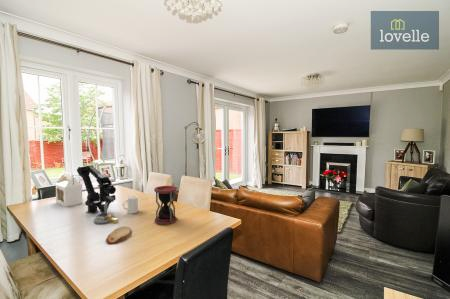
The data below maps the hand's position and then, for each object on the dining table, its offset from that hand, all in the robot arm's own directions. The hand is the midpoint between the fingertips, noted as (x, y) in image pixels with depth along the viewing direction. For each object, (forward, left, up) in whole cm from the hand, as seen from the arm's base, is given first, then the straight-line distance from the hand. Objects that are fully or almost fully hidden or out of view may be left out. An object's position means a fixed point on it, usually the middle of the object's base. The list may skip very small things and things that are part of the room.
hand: (104, 211), depth 173 cm
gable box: (-53, +13, -2) cm, 55 cm away
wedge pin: (0, 0, -2) cm, 2 cm away
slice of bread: (+38, -26, -3) cm, 46 cm away
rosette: (+12, -10, -2) cm, 16 cm away
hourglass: (+53, +4, -2) cm, 53 cm away
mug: (+16, +11, -2) cm, 20 cm away
